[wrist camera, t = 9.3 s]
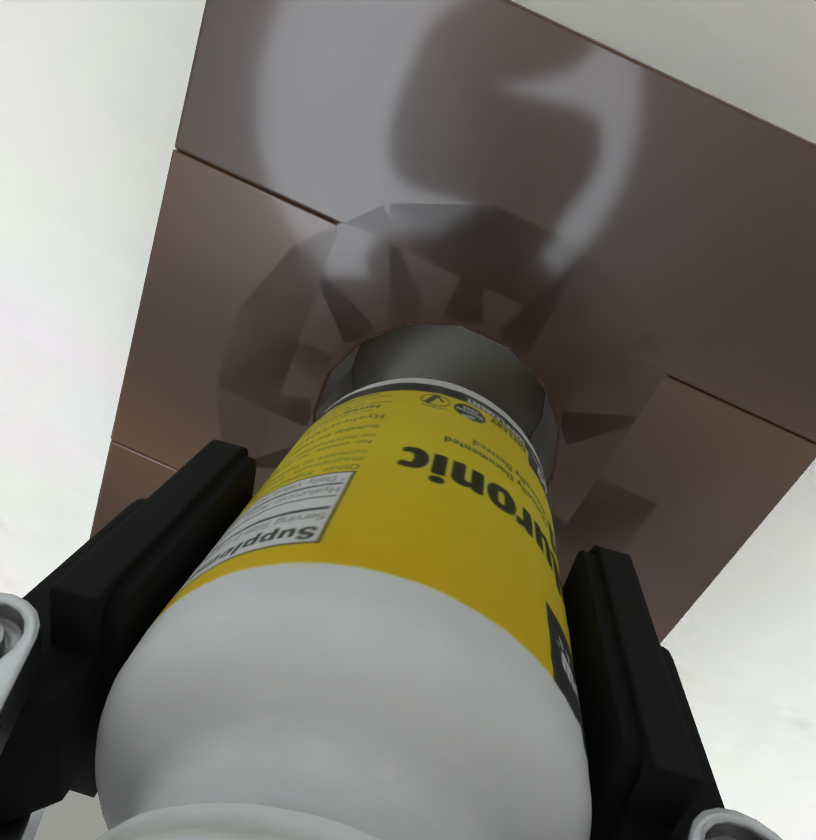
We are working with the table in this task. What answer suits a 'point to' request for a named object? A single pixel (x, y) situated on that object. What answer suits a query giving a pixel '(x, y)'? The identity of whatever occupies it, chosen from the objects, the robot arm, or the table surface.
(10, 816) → the robot arm
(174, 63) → the table surface
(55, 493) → the table surface
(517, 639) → the supplement bottle
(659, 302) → the holder block
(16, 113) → the table surface
